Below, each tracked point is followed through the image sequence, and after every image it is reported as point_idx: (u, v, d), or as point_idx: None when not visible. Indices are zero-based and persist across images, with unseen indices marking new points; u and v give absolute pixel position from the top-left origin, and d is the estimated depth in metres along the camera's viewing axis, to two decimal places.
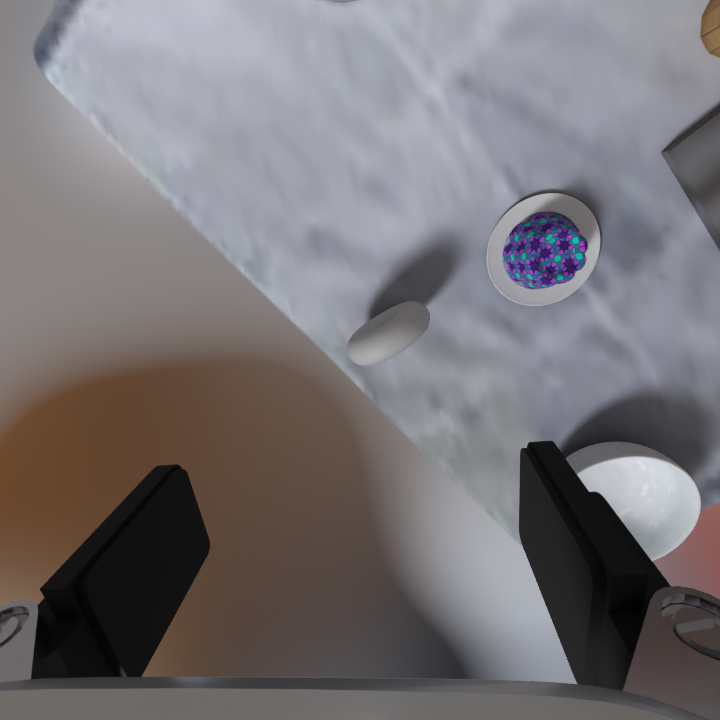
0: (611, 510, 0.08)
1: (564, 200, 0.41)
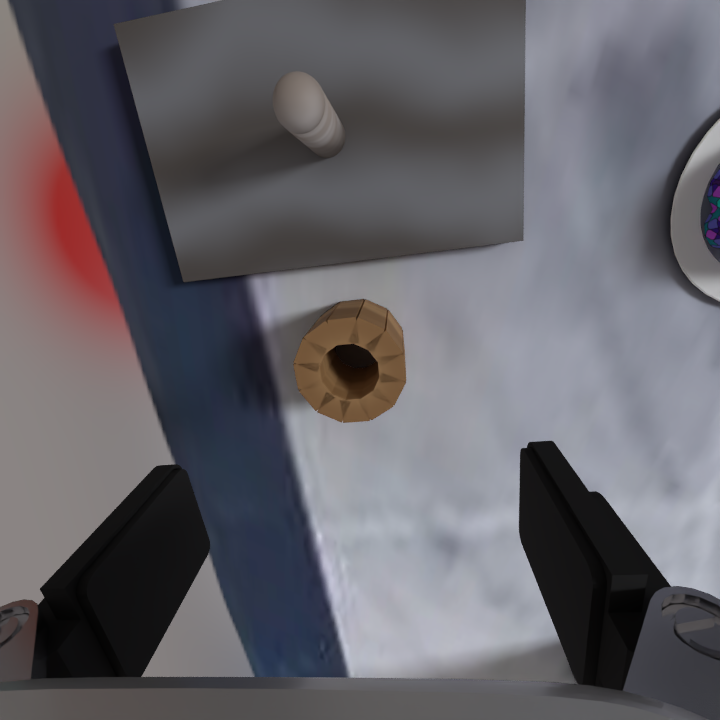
0: (610, 510, 0.08)
1: (689, 265, 0.22)
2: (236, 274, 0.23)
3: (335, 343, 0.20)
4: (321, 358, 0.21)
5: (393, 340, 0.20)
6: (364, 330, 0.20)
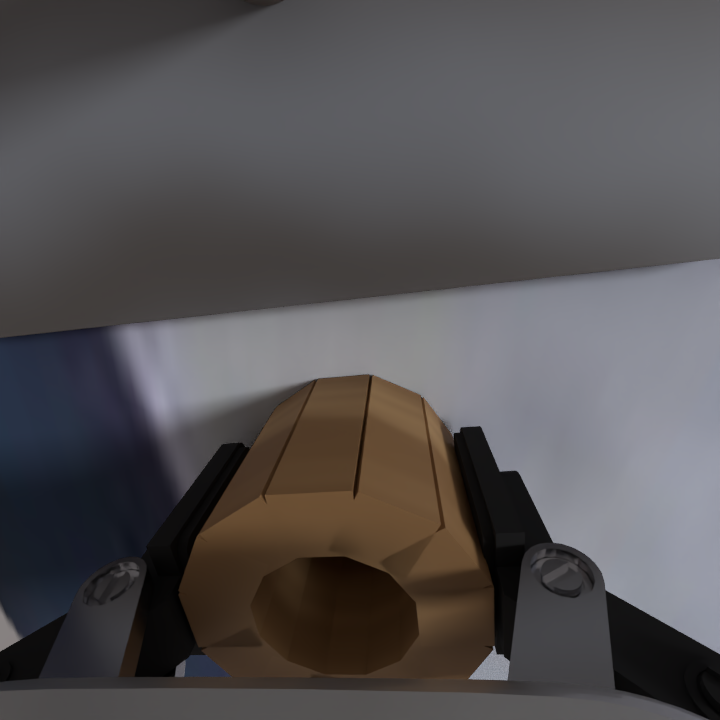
0: (524, 486, 0.09)
1: None
2: (63, 327, 0.10)
3: (292, 553, 0.07)
4: (254, 586, 0.07)
5: (465, 552, 0.07)
6: (378, 525, 0.07)
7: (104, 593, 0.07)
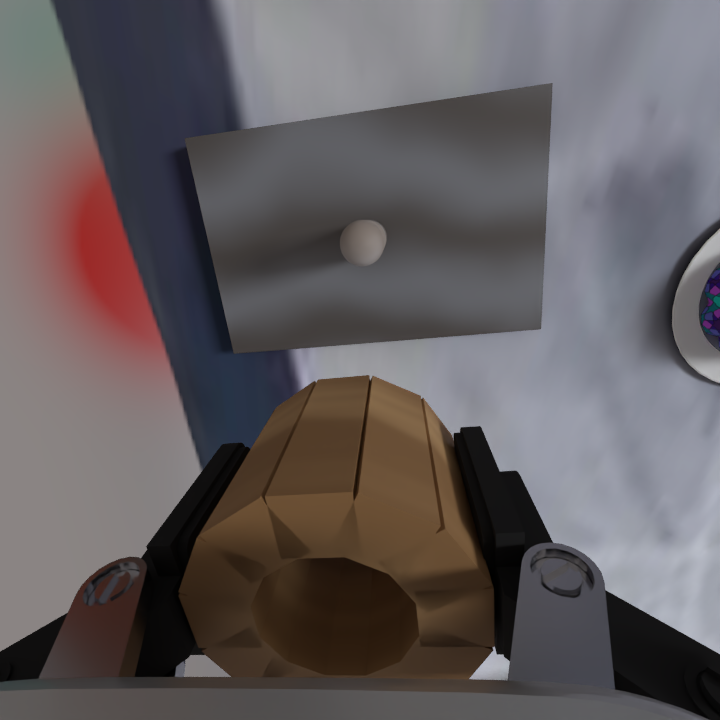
0: (524, 485, 0.09)
1: (687, 348, 0.25)
2: (282, 348, 0.26)
3: (292, 554, 0.07)
4: (254, 587, 0.07)
5: (465, 553, 0.07)
6: (378, 526, 0.07)
7: (104, 593, 0.07)
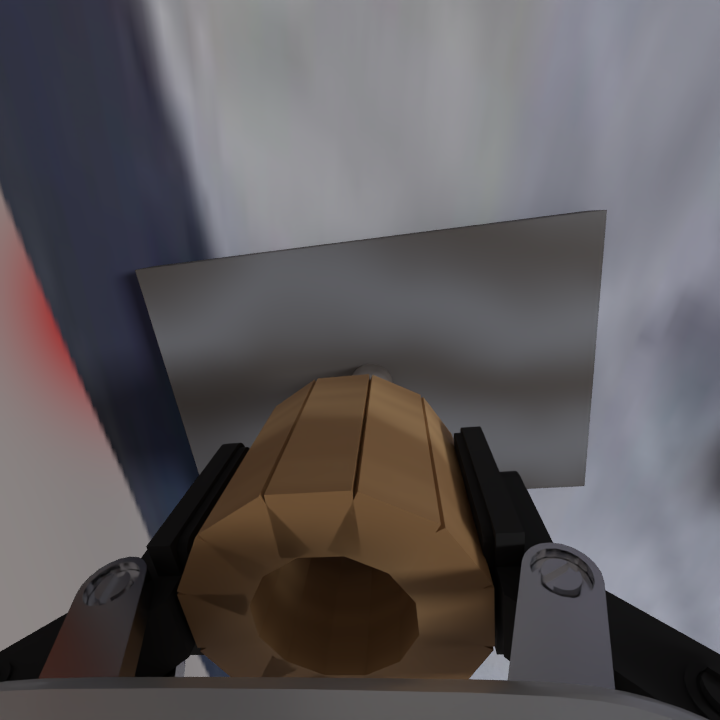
0: (524, 486, 0.09)
1: None
2: None
3: (291, 553, 0.07)
4: (253, 586, 0.07)
5: (465, 552, 0.07)
6: (378, 525, 0.07)
7: (104, 593, 0.07)
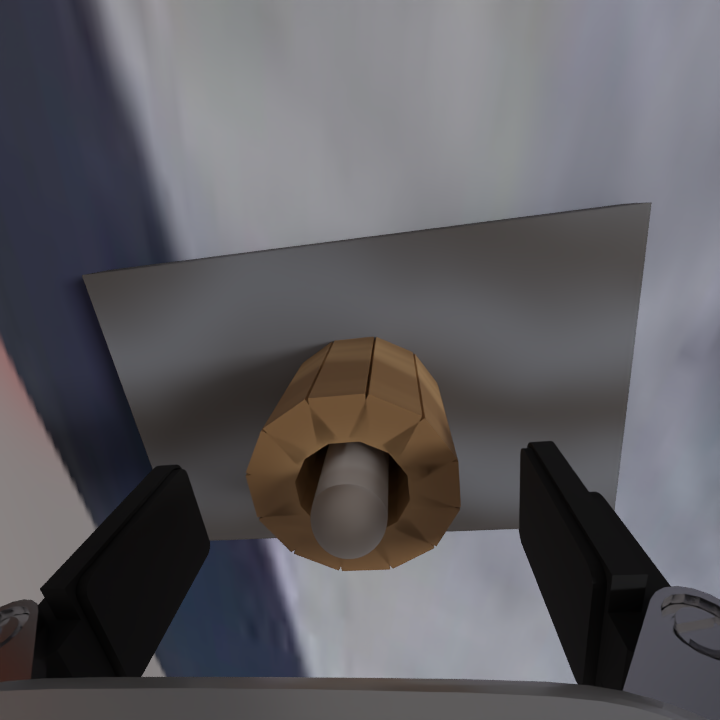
0: (611, 510, 0.08)
1: None
2: (245, 537, 0.19)
3: (324, 440, 0.11)
4: (298, 466, 0.11)
5: (439, 436, 0.10)
6: (381, 418, 0.10)
7: None
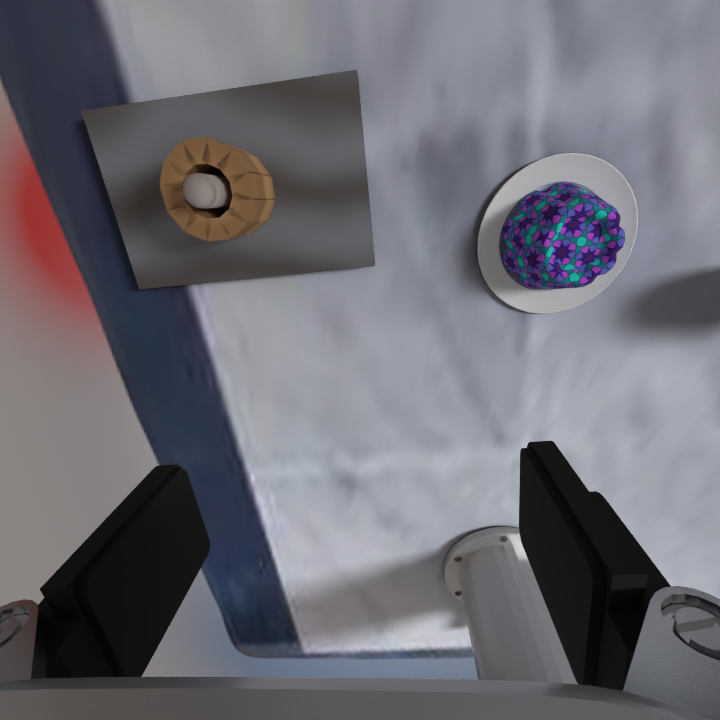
0: (611, 510, 0.08)
1: (494, 283, 0.32)
2: (177, 284, 0.32)
3: (192, 163, 0.24)
4: (182, 178, 0.25)
5: (239, 159, 0.24)
6: (214, 149, 0.24)
7: None
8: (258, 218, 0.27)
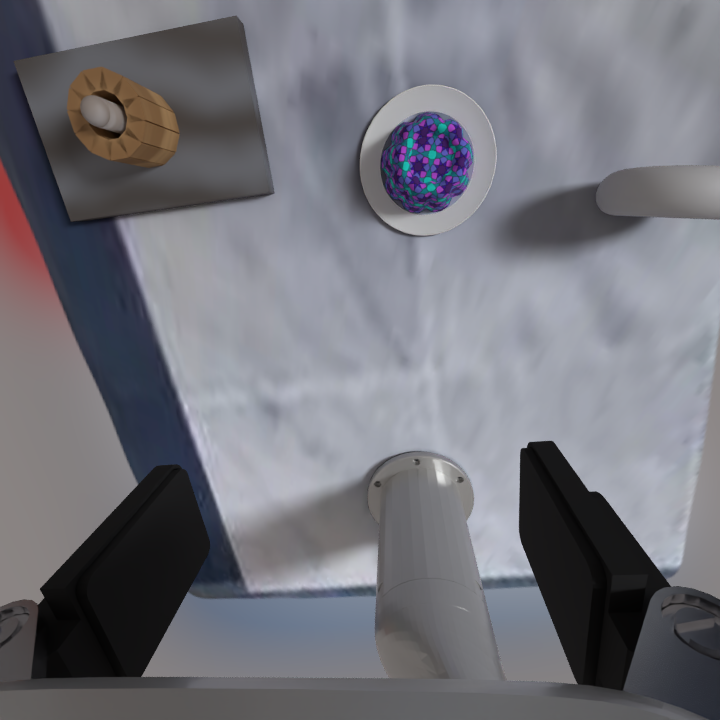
0: (610, 510, 0.08)
1: (381, 210, 0.36)
2: (103, 215, 0.37)
3: (92, 90, 0.29)
4: None
5: (130, 85, 0.29)
6: (109, 77, 0.29)
7: None
8: (157, 144, 0.32)
